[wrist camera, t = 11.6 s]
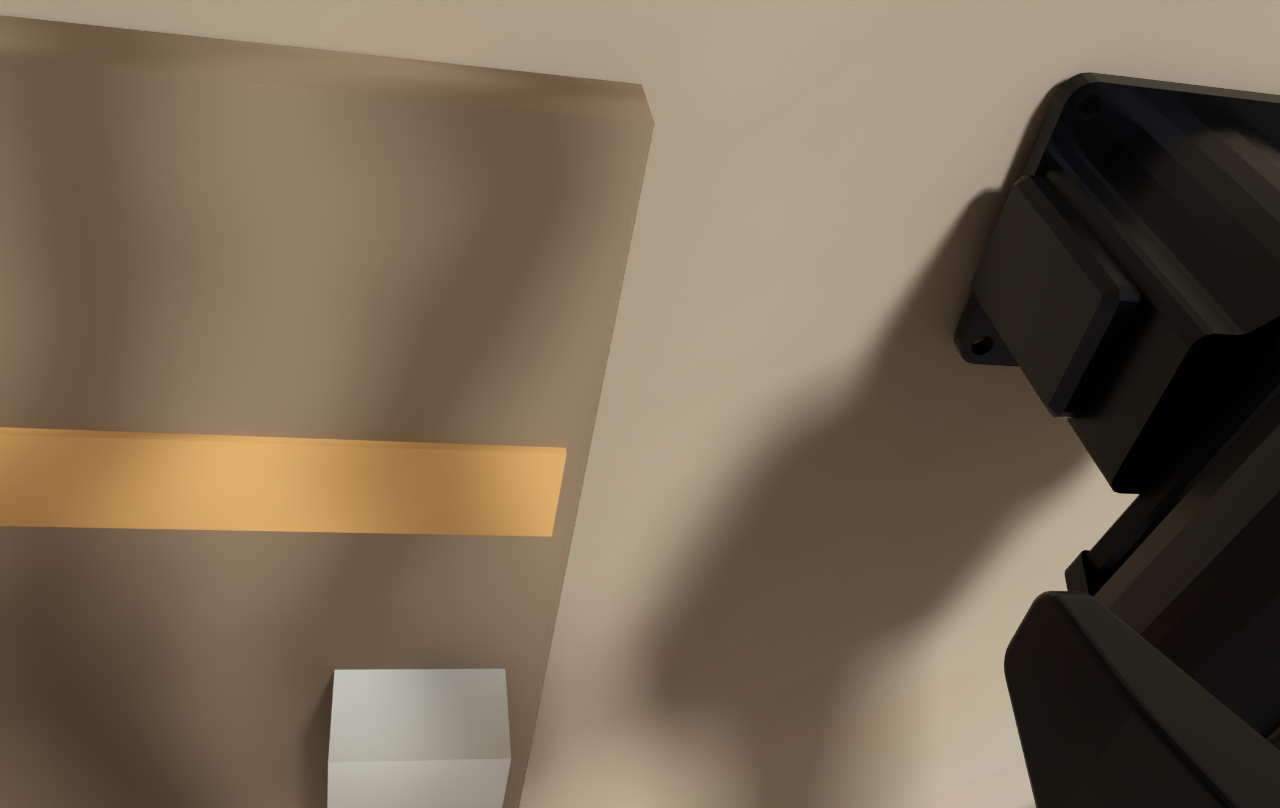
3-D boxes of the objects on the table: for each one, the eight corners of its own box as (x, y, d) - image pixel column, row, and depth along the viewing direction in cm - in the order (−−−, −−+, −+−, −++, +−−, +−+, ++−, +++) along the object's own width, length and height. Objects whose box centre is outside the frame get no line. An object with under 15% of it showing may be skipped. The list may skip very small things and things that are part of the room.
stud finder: (334, 669, 27) (327, 768, 25) (505, 668, 28) (511, 764, 26) (331, 831, 32) (325, 927, 30) (479, 826, 32) (482, 918, 30)
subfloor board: (641, 84, 21) (655, 128, 19) (510, 787, 34) (513, 841, 33) (-762, -67, 16) (-864, -23, 15) (-272, 810, 30) (-304, 872, 28)
